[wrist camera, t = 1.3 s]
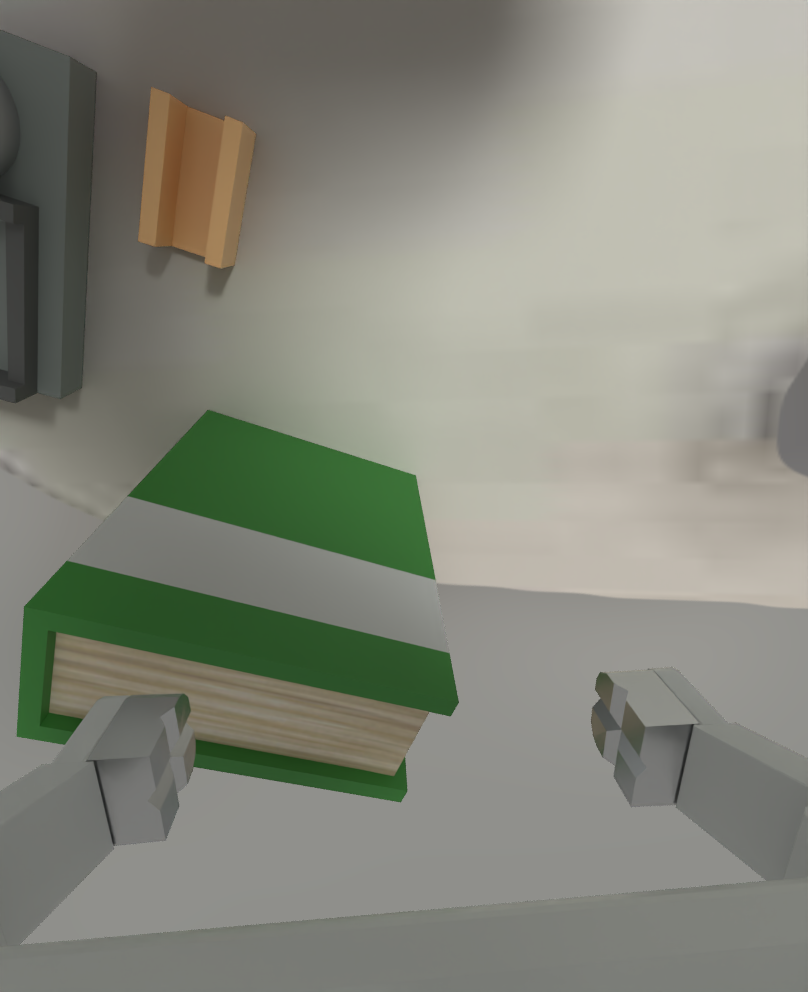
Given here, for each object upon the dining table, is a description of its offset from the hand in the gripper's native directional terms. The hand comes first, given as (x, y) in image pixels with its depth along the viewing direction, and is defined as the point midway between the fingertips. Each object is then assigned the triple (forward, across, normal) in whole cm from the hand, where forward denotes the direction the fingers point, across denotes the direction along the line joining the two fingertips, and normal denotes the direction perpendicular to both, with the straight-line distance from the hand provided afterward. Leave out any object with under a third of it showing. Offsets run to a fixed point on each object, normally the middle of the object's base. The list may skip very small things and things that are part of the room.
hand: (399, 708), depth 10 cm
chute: (+31, +10, -16) cm, 36 cm away
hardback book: (+34, +6, +5) cm, 35 cm away
